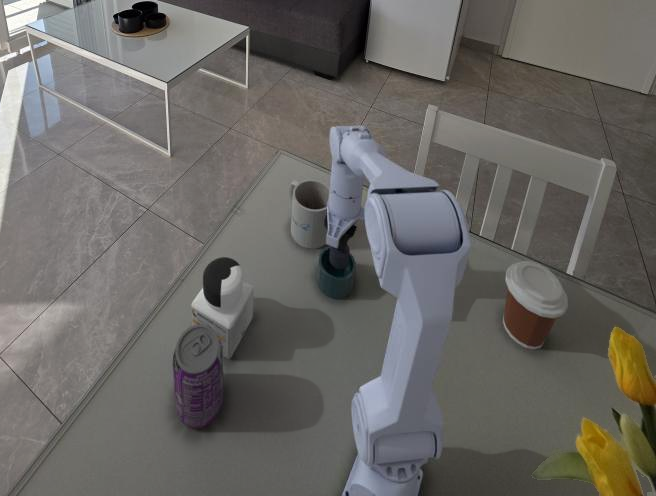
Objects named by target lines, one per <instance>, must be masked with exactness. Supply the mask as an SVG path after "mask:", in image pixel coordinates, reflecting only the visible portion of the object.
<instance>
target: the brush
mask: <svg viewBox="0 0 656 496" xmlns="http://www.w3.org/2000/svg"><path fill="white" fill-rule="evenodd" d="M329 246H330V245H329ZM350 251H351V250H350V246H349V244H348V243H347V246H346V248H345V250H344V252H341V251H339V250H336V249H334V248H333V247H332V246H330V256H329V261H330V263H331V264H332V266H334V267H335V268H337V269H343V268H345V267H346V266H347V265H348V261H349V253H351V252H350Z"/></svg>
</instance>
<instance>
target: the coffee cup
mask: <svg viewBox="0 0 656 496" xmlns="http://www.w3.org/2000/svg"><path fill="white" fill-rule="evenodd" d="M505 283H506V286H507V290H506V291H507V292H506V297H505V306H504V311H503V315H502V317H503V318H502V324H503V326H504V329H505V331H506V332H507V334H508V335H509V337H510V338H511V339H513V341H515V342H516V343H517V344H518V345H519V346H522V347H523V348H525V349H529V350H537V349H541V348H542V347H543V345H544V344H545V341H546V339H547V337H548V335H549V333H550V331H551V329H552V328H553V325H554V323H555V322H556V320H557V318H559V317H562V316H564V314H565V313H566V311H567V309H568V307H569V306H568V296H567V294H566V292H565V290H564V288H563V286H562V284H561V282H560V280H559V278H558V277H557V276H556V275H555V274H554V273H553V272H552V271H550V269H548V268H547V267H545V266H544V265H542V264H539V263H537V262H535V261H531V260H523V261H519V262H514V263H511V264H510V265H509V266H508V268H507V269H506V271H505Z"/></svg>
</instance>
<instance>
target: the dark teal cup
mask: <svg viewBox="0 0 656 496" xmlns="http://www.w3.org/2000/svg"><path fill="white" fill-rule="evenodd" d="M329 256H330V245H328V246H326V247H324V248H323V249H322V250H321V251H320V253H319V254H318V261H317V271H316V282H317V286H318V288H319V289H320V291H321V292H322V293H323V294H324V295H325V296H326V297H328V298H330V299H334V300H342V299H345V298H347V297H348V296H349V295H350V294H351V293H352V292H353V289H354V286H355V285H354V284H355V277H356V269H357V268H356V266H357V263H356V260H355V257H354V255H353V254H352V253H351V252H350V253H349V261H348V265H347V266H346V267H345V268H343V269H337V268H335V267H334V266H332V264H331V263H330V261H329Z"/></svg>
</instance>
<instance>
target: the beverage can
mask: <svg viewBox="0 0 656 496" xmlns="http://www.w3.org/2000/svg"><path fill="white" fill-rule="evenodd" d="M172 373H173V377H172V378H173V389H174V390H173V391H174V392H173V393H174V406H175V412H176V413H175V414H176V415H177V418H178V420H179V421H180V422H181V423H182V424H183V425H184V426H185V427H187V428H190V429H194V430H195V429H202V428H204V427H207V426H208V425H210V424H211V423H212V422H213V421H214V420H215V419H216V418H217V416H218V414H219V413H220V411H221V410H222V409H221V408H222V406H223V401H224V356H223V351H222V346H221V343H220V341H219V339H218V336H217V334H216V332H215V331H214V330H213V329H212V328H211V327H209V326H207V325H204V324H197V325H193V326H192V325H191V326H189V327H188V328H186V329H185V330H184V331H183V332H182V333H181V334H180V336H179V337H178V339H177V341H176V345H175V348H174V351H173V355H172Z"/></svg>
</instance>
